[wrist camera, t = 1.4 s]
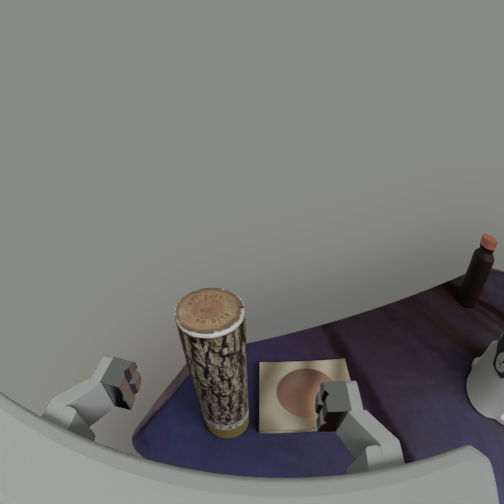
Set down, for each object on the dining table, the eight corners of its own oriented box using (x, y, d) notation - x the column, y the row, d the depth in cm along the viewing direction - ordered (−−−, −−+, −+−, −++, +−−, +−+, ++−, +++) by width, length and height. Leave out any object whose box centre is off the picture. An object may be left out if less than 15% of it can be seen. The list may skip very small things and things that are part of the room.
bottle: (453, 293, 64) (475, 231, 54) (470, 294, 63) (493, 234, 53) (460, 308, 59) (486, 242, 49) (477, 309, 57) (504, 246, 47)
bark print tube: (206, 406, 41) (177, 289, 29) (246, 403, 42) (241, 285, 29) (207, 441, 35) (170, 336, 23) (251, 438, 36) (248, 331, 24)
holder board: (342, 363, 49) (345, 357, 48) (357, 425, 36) (360, 421, 35) (259, 366, 49) (259, 361, 48) (259, 433, 37) (259, 429, 36)
